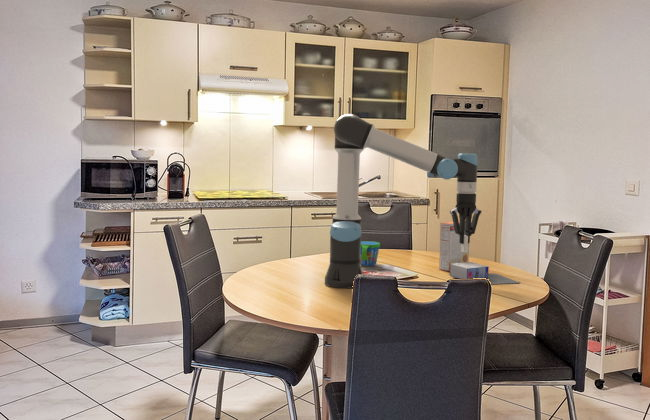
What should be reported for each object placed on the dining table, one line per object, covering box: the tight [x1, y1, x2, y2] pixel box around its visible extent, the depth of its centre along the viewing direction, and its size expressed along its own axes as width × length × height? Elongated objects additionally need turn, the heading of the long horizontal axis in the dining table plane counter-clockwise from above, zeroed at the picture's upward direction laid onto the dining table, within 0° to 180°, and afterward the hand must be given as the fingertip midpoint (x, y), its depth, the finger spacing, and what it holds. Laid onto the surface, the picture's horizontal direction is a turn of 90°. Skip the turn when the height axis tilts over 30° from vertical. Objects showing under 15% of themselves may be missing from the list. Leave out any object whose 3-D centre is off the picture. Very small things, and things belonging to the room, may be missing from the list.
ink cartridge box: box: [449, 261, 490, 280], centre depth 241 cm, size 10×6×14 cm
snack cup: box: [360, 240, 381, 267], centre depth 265 cm, size 16×10×10 cm
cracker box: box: [438, 220, 470, 272], centre depth 260 cm, size 14×6×21 cm, turn 130°
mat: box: [487, 272, 521, 285], centre depth 240 cm, size 20×18×1 cm
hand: (464, 251), depth 236 cm, fingers closed
